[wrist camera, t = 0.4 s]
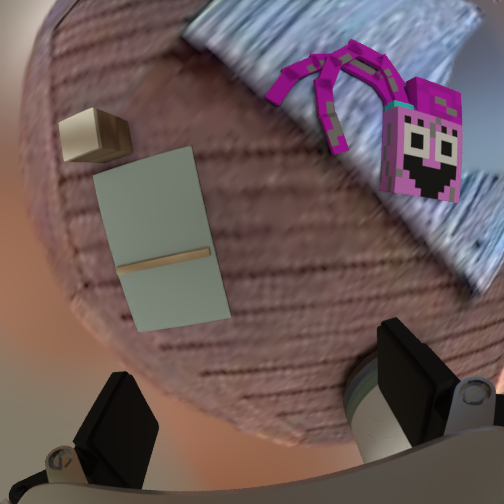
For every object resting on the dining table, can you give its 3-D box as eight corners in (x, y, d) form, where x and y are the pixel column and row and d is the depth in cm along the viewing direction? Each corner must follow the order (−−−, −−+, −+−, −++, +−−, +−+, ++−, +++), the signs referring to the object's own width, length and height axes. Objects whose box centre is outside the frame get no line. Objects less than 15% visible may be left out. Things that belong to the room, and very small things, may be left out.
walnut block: (98, 132, 34) (58, 122, 25) (127, 121, 34) (92, 107, 25) (103, 162, 36) (64, 161, 26) (133, 153, 35) (98, 147, 26)
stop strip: (118, 265, 38) (115, 268, 37) (209, 246, 38) (208, 248, 37) (120, 272, 39) (117, 275, 38) (211, 253, 38) (210, 256, 37)
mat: (94, 175, 36) (92, 175, 35) (191, 146, 35) (190, 145, 35) (139, 330, 42) (138, 332, 41) (231, 315, 41) (231, 317, 41)
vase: (399, 312, 42) (491, 410, 19) (437, 366, 45) (506, 449, 22) (316, 381, 45) (355, 507, 21) (367, 422, 48) (409, 520, 24)
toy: (261, 179, 32) (270, 19, 27) (259, 178, 37) (267, 35, 32) (458, 203, 33) (458, 67, 28) (439, 199, 38) (440, 74, 33)
